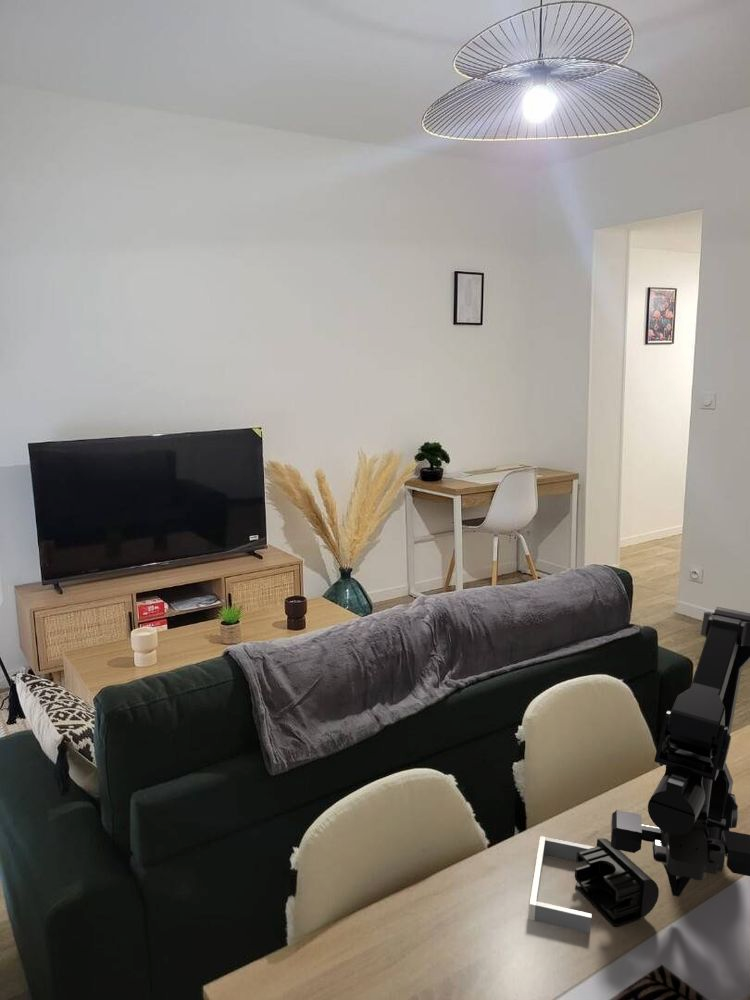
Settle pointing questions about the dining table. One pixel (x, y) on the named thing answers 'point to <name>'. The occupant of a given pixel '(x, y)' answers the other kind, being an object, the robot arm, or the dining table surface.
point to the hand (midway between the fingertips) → (675, 894)
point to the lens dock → (552, 912)
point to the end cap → (615, 884)
